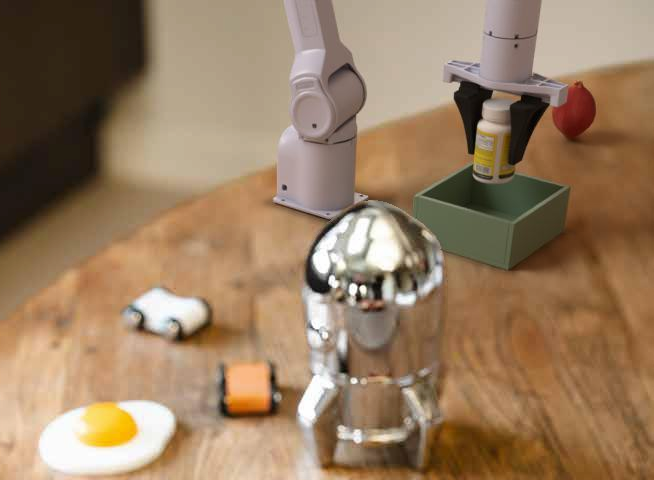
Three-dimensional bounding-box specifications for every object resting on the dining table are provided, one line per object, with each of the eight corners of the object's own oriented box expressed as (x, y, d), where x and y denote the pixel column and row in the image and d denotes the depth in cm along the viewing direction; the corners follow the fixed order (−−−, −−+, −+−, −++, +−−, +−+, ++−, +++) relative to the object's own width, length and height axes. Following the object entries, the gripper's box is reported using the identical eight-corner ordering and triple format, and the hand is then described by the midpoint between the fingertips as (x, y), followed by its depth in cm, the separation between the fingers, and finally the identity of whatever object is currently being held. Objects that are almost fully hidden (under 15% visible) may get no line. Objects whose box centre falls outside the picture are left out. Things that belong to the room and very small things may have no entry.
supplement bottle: (512, 169, 141) (521, 96, 136) (515, 185, 138) (525, 110, 132) (470, 169, 142) (478, 96, 136) (472, 184, 138) (480, 110, 133)
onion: (547, 130, 169) (555, 71, 164) (589, 132, 169) (599, 72, 163) (549, 146, 165) (558, 85, 160) (592, 147, 164) (603, 87, 159)
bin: (410, 240, 143) (413, 195, 139) (468, 204, 151) (473, 160, 147) (508, 270, 137) (514, 224, 133) (563, 231, 144) (571, 186, 141)
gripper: (589, 34, 128) (569, 160, 137) (471, 11, 135) (459, 133, 144) (557, 50, 124) (538, 180, 133) (437, 26, 131) (427, 150, 140)
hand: (495, 157), depth 138 cm, fingers closed on supplement bottle, 5 cm apart
